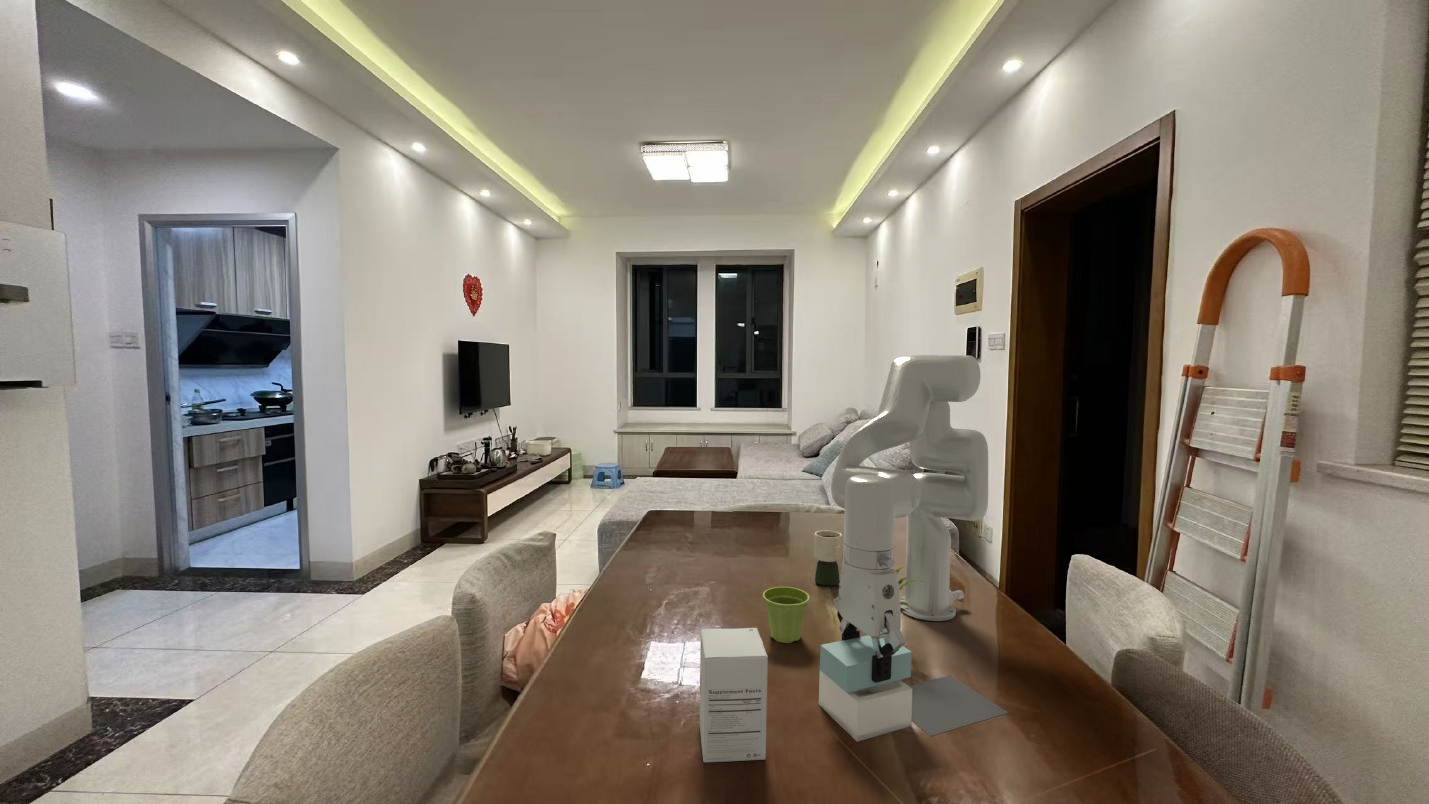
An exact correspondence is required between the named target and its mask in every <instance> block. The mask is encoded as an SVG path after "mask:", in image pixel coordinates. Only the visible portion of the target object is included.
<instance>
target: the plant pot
mask: <svg viewBox="0 0 1429 804" xmlns="http://www.w3.org/2000/svg"><path fill="white" fill-rule="evenodd" d="M762 597H763V600H764V603H765V605H766V609H767V610H766V611H767V619H768V626H769V634H770V638H771V639H774V640H775V641H776V642H778V643H783V644H791V643H793V642H795V641H796V642H797V641H799V640H800V639H801V635H802V629H803V623H804V617H805V610H806V607H808V606H807V605H808V603H809V601H810V595H809V593H807V592H806V591H805V590H802V589H800V588H796V587H793V586H792V587H791V586H775V587H770V588H767V589H765V590H764V591H763V593H762Z"/></svg>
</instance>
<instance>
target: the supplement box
mask: <svg viewBox="0 0 1429 804" xmlns="http://www.w3.org/2000/svg"><path fill="white" fill-rule="evenodd" d="M699 649H700V650H699V651H700V658H699V661H700V662H699V665H700V667H699V670H700V671H699V672H700V673H699V732H700V743H701V752H702V759H703V760H702V761H703V763H719V762H721V763H723V762H739V761H742V762H744V761H759V760H760V761H761V760H762V761H763V760H766V759H767V757H766V755H767V712H768V711H767V709H768V669H769V668H768V667H769V664H768V662H769V660H768V654H767V651H766V648H765V646H764V643H763V639H762V637H761V635H760V632H759V629H758V627H746V628H745V627H743V628H703V629H701V630H700V648H699Z"/></svg>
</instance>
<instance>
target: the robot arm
mask: <svg viewBox="0 0 1429 804" xmlns="http://www.w3.org/2000/svg"><path fill="white" fill-rule="evenodd" d="M981 378H982V376H981V367H980V364H979V362H978V360H977V359H976V358H975V357H974V356H972V355H967V354H966V355H965V354H963V355H958V354H957V355H954V354H953V355H952V354H951V355H950V354H949V355H943V354H942V355H939V354H937V355H936V354H935V355H934V354H932V355H931V354H925V355H924V354H922V355H920V354H918V355H917V354H916V355H914V354H913V355H912V354H911V355H904V356H899V357H897V358H895V359H894V360H893V361H892V362H891V364H890V370H889V373H888V377H887V380H886V383H885V386H884V390H883V394H882V398H881V401H880V405H879V409H878V411H877V415H876V417H874V418H873V419H871V420H870V421H868V422H866V423H865V424H864V425H862V426H861V427H859V428H858V429H857V430H856V431H855V432H854V433H852V434H851V435H850V437H848V439H847V440H846V441H845V442H844V444H843V445H842V447H841V449H840V451H839V454H838V457H837V460H836V464H835V467H834V471H833V474H832V478H831V483H830V485H831V486H830V491H831V492H830V493H831V497H832V499H833V500H832V501H833V502H834V503H835V504H836V505H837V506H839V507H840V508H842V509H844V520H843V521H844V522H843V526H844V527H843V531H844V532H843V554H842V558H843V559H842V564H841V571H840V574H839V581H840V583H839V584H838V596H836V597H834V598H833V604H834V607H835V610H836V616H837V619H838V621H839V623H840V624H839V631H840V632H841V641H843V640H849V639H854V638H859V637H861V632H862V631H863V632H864V633H866V634H867V635H869V636H871V639H872V643H873V647H874V651H875V655H873V656H872V681H873V682H875V683H877V682H881V681H885V680H889V679H890V678H891V663H892V655H895V653H896V652H897V651H898V650H899V648H901V647H902V646H903V647H904V645H905V644H906V639H905V636H904V635H903V632H902V631H901V628H902V627H901V624H902V622H901V621H902V620H901V619H902V617H901V614H902V613H903V614H905V615H907V616H910V617H913V618H914V619H918V620H922V621H923V620H924V621H929V622H930V621H931V622H944V621H950V620H952V619H954V618H955V617H956V615H957V609H956V608H955V606H954V604H953V602H955V600H956V601H958V600H961V599H962V600H963V599H964V597H965V594H964V591H963V590H961V589H958V590H953V591H952V590H951V588H950V579H951V578H950V575H951V572H950V570H951V552H952V551H951V549H952V548H951V547H952V546H951V545H952V538H951V533H950V531H949V529H948V527H947V526H946V524H945V523H944V521H943V520H942V518H947V519H955V520H963V521H969V522H977V521H980V520H983V518H985V516H986V514H987V511H988V507H989V506H988V504H989V449H988V448H989V446H988V442H987V438H986V437H985V435H984V433H982V432H980V431H978V430H973V429H970V428H969V429H967V428H955V427H954V428H953V427H952V426H951V406H950V404H949V403H961V402H962V403H963V402H966V401H968V400H969V399H971V398H972V397H973V396H975V394H976V392H978V390H979V386H980V383H981ZM908 443H909V455H910V459H911V460H910V461H911V462H912V464H913V465H914V466H916V467H917V468H919V469H922V470H929V471H939V472H947V473H959V474H961V475H962V476H961V475H956V474H945V473H936V472H935V473H934V472H915V473H911V472H909V471H905V470H900V469H891V468H883V467H874V466H864V465H863V466H862V465H861V464H862V463H863V462H864V461H865V460H866V459H867V458H869V457H871V456H873V455H874V454H877V453H879V452H882V451H886V450H889V449H892V448H895V447H899V446H901V445H906V444H908ZM904 517H906V537H905V539H906V541H905V542H906V543H905V546H906V547H905V567H904V568H905V569H904V570H905V572H904V578H906V579H904V583H906V582H908V581H913V580H917V581H924V582H912V583H910V584H908V585H906V586H904V595H902V596H901V595H900V590H899V587H900V585H899V584H898V582H899V577H898V574H897V573H896V570H897V569H894V566H895V560H894V559H895V529H896V527H895V526H896V525H895V521H896V519H899V518H904ZM907 577H908V578H907ZM900 602H906V603H908V604H909V606H910V607H909V606H906V605H900ZM901 608H903V609H905V610H906V611H907V612H905V611H901ZM901 612H902V613H901ZM882 630H883V633H881V634H880V631H882ZM860 631H861V632H860ZM881 638H884V641H885V645H884V646H883V647H881V644H880V640H879V639H881Z"/></svg>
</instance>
